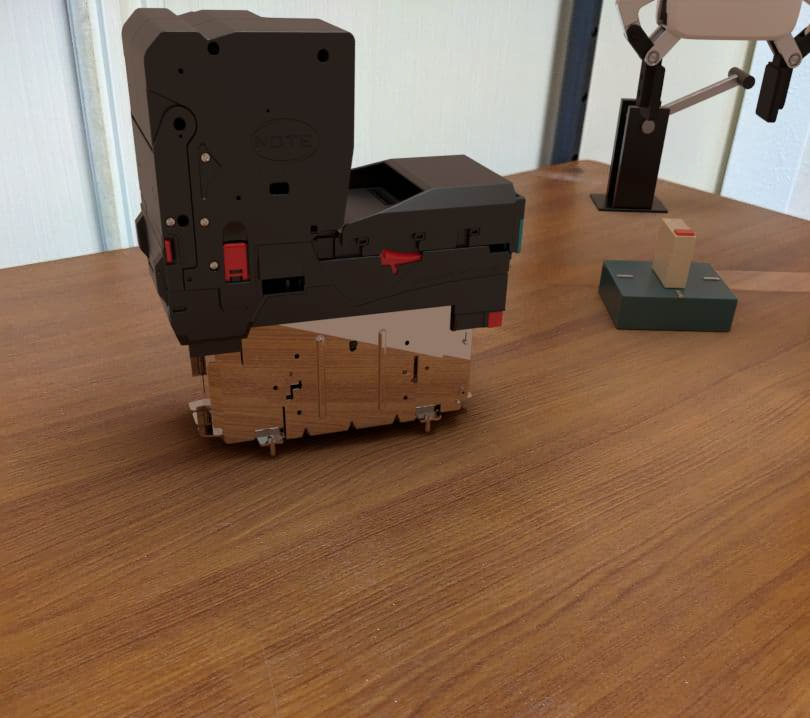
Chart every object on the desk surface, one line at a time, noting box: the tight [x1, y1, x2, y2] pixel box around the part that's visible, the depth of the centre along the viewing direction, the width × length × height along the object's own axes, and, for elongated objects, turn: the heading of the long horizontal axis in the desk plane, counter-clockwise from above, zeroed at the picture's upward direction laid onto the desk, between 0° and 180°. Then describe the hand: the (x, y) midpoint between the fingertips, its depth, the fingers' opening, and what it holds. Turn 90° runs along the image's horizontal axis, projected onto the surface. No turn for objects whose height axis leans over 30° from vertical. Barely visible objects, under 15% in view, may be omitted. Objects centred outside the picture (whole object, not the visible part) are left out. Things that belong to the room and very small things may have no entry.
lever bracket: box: [589, 97, 670, 214], centre depth 105 cm, size 8×6×12 cm
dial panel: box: [598, 259, 739, 333], centre depth 83 cm, size 10×9×3 cm
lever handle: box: [626, 66, 756, 118], centre depth 101 cm, size 13×6×2 cm, turn 90°
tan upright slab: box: [652, 217, 697, 288], centre depth 81 cm, size 5×2×5 cm, turn 0°
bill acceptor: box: [120, 7, 527, 457], centre depth 59 cm, size 10×23×25 cm, turn 110°
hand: (706, 118), depth 75 cm, fingers open, 9 cm apart
